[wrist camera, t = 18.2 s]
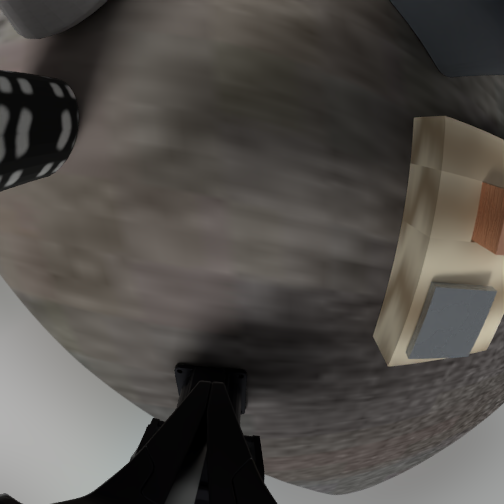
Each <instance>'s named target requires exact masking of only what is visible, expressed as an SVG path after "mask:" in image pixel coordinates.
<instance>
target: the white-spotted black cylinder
mask: <svg viewBox="0 0 504 504" xmlns="http://www.w3.org/2000/svg"><path fill="white" fill-rule="evenodd" d="M78 120H79V116H78V106H77V101H76V98H75V95H74V93H73V91H72V90H71V88H70V87H69V86H68V85H67V84H66V83H65V82H63V81H62V80H59V79H56V78H51V77H45V76H39V75H33V74H27V73H20V72H12V71H3V70H0V191H3V190H6V189H9V188H12V187H15V186H18V185H21V184H24V183H27V182H31V181H34V180H37V179H41V178H44V177H48V176H50V175H51V174H53V173H55V172H56V171H57V170H58V169H59V168H60V167H61V166H62V165H63V164H64V162H65V161H66V160H67V158H68V156H69V154H70V152H71V150H72V148H73V145H74V142H75V139H76V135H77V130H78Z"/></svg>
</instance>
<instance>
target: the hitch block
mask: <svg viewBox="0 0 504 504" xmlns="http://www.w3.org/2000/svg"><path fill="white" fill-rule="evenodd" d="M482 182H483V183H487V184H490V185H493V186H496V187H499V188H503V189H504V140H503V139H501V138H499V137H496V136H494V135H492V134H490V133H488V132H485V131H483V130H481V129H478V128H476V127H474V126H471V125H469V124H466V123H464V122H461V121H458V120H456V119H453V118H450V117H447V116H431V117H414V123H413V139H412V152H411V162H410V171H409V179H408V187H407V194H406V201H405V207H404V213H403V219H402V224H401V230H400V235H399V240H398V245H397V249H396V254H395V258H394V263H393V267H392V271H391V275H390V279H389V283H388V287H387V290H386V294H385V298H384V301H383V305H382V308H381V311H380V315H379V318H378V321H377V324H376V328H375V331H374V334H373V338H374V340H375V342H376V344H377V346H378V347H379V349H380V351H381V353H382V355H383V357H384V359H385V361H386V364H387V366H388V367H389V366H397V365H406V364H413V363H420V362H427V361H433V360H439V359H445V358H434V359H408V357H407V354H406V350H407V348H408V345H409V343H410V341H411V338H412V336H413V333H414V331H415V328H416V325H417V323H418V320H419V317H420V315H421V312H422V309H423V306H424V303H425V300H426V297H427V294H428V291H429V288H430V285H431V282H444V283H456V284H469V285H482V286H492V287H493V288H494V289H495V290H496V291H497V293H496V296H495V298H494V301H493V304H492V306H491V309H490V311H489V313H488V316H487V318H486V320H485V323H484V325H483V327H482V329H481V331H480V334H479V336H478V338H477V340H476V342H475V344H474V346H473V348H472V350H471V352H470V354H471V353H475V352H480V351H484V350H487V348H488V346H489V344H490V342H491V340H492V338H493V336H494V334H495V332H496V330H497V328H498V326H499V323H500V321H501V319H502V317H503V314H504V255H495V254H494V253H492V252H490V251H489V250H487V249H486V248H484V247H483V246H481V245H479V244H478V243H476V242H474V241H473V240H471V239H472V235H473V231H474V226H475V221H476V217H477V212H478V206H479V200H480V194H481V188H482Z"/></svg>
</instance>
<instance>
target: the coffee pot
mask: <svg viewBox="0 0 504 504" xmlns="http://www.w3.org/2000/svg"><path fill="white" fill-rule="evenodd" d="M106 1H107V0H0V9H1V10H2V12H3V13H4V15H5V16H6V17H7V19H8V20H9V22H10V23H11V25H12V26H13V27H14V29H15V30H16V32H17V33H18V34H20V35H22V36H23V37H25V38H30V39H41V38H45V37H48V36H52V35H55V34H59V33H62V32H64V31H66V30H67V29H69V28H71V27H73V26H75V25H77V24H78V23H80V22H81V21H82V20H84V19H85V18H87V17H88V16H90V15H91V14H93V13H94V12H95V11H96V10H97V9H99V8H100V7H101V6H102V5H103V4H104V3H105V2H106Z"/></svg>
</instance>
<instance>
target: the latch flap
mask: <svg viewBox="0 0 504 504" xmlns="http://www.w3.org/2000/svg"><path fill="white" fill-rule="evenodd" d="M496 293H497V291H496V290H495V289H494V288H493V287H492V286H482V285H469V284H456V283H444V282H431V285H430V288H429V291H428V294H427V297H426V300H425V303H424V306H423V309H422V312H421V315H420V317H419V320H418V323H417V325H416V328H415V331H414V333H413V336H412V338H411V341H410V343H409V345H408V348H407V350H406V354H407V357H408V359H434V358H456V357H468V356H469V354H470V352H471V350H472V348H473V346H474V344H475V342H476V340H477V338H478V336H479V334H480V331H481V329H482V327H483V325H484V323H485V320H486V318H487V316H488V313H489V311H490V309H491V306H492V304H493V301H494V298H495V296H496Z"/></svg>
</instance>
